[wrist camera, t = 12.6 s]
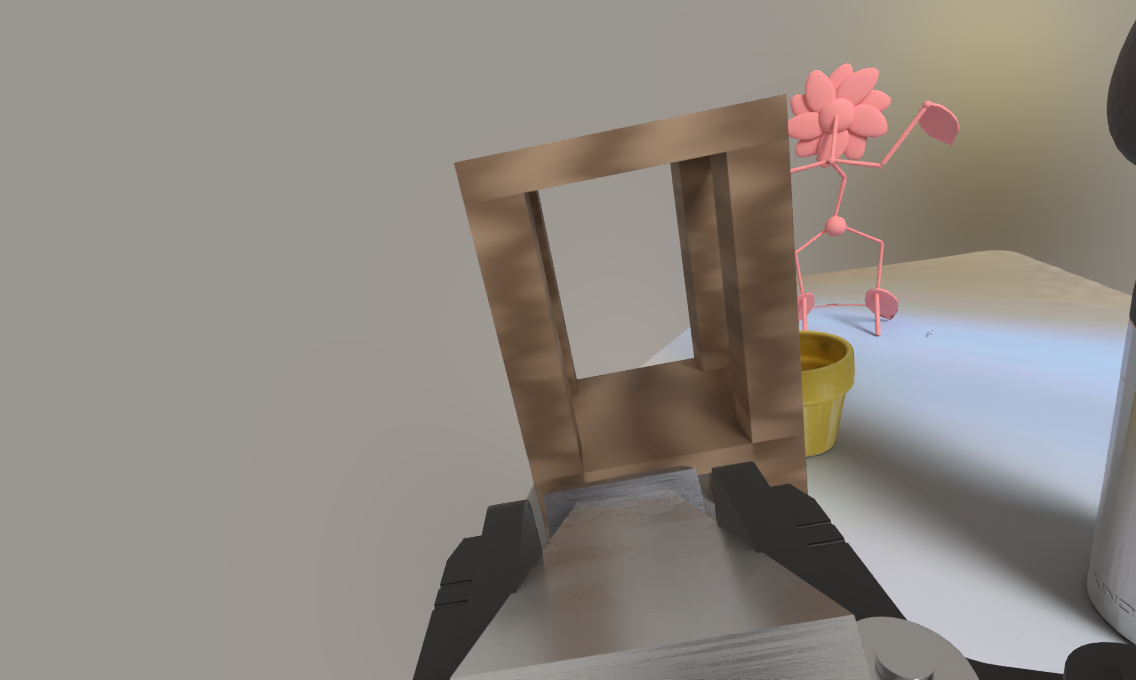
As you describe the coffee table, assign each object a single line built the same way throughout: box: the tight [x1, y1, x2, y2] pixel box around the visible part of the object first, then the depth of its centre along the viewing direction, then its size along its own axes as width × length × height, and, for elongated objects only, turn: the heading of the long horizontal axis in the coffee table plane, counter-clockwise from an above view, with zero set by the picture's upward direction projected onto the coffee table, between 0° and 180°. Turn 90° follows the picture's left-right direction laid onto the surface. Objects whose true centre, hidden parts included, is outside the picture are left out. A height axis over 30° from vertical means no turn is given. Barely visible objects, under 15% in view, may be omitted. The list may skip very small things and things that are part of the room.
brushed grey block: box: [450, 466, 871, 680], centre depth 14 cm, size 20×6×3 cm
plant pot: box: [799, 331, 855, 457], centre depth 50 cm, size 10×10×10 cm
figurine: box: [788, 63, 959, 335], centre depth 73 cm, size 15×26×35 cm, turn 64°
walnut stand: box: [454, 94, 808, 541], centre depth 36 cm, size 16×14×31 cm
